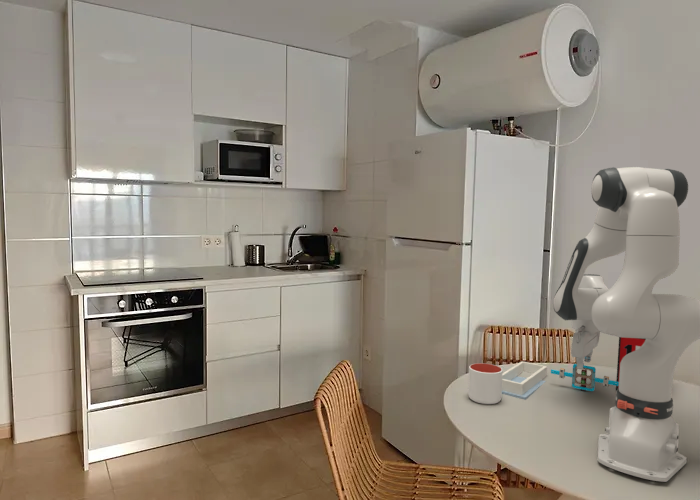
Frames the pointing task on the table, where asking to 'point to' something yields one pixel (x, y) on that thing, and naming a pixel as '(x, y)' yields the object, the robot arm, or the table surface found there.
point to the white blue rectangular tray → (523, 380)
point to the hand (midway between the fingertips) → (583, 365)
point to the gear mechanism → (584, 378)
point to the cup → (485, 383)
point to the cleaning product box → (627, 350)
